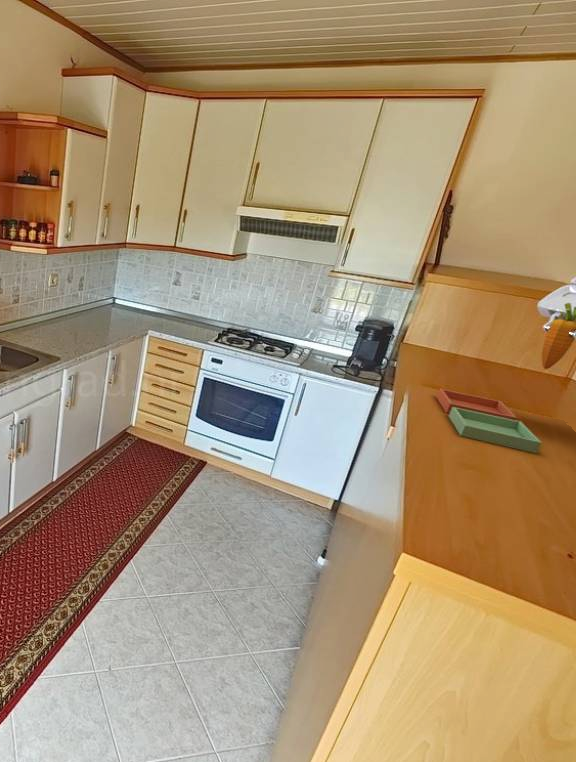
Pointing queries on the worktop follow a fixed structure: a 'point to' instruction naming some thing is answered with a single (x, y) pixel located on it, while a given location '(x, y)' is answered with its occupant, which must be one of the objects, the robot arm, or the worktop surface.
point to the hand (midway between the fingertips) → (559, 333)
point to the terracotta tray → (473, 404)
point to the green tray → (494, 430)
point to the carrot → (558, 338)
